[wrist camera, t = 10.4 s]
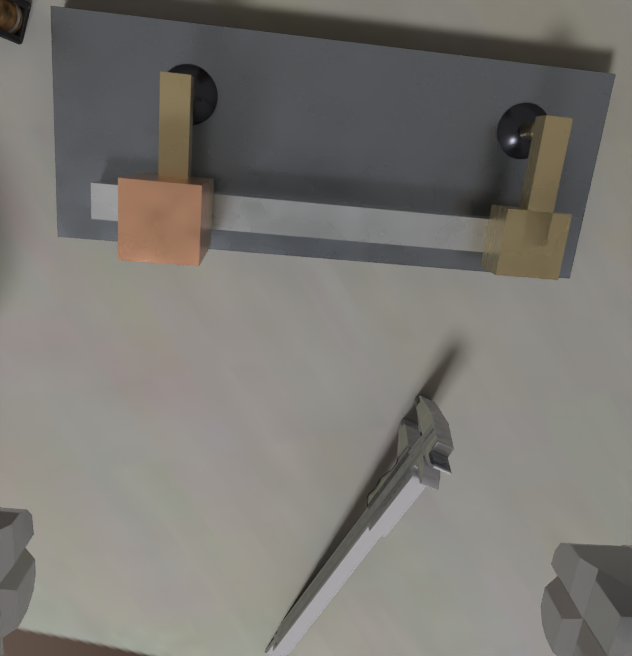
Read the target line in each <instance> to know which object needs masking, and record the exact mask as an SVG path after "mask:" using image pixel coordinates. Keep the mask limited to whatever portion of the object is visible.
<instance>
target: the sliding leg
mask: <svg viewBox="0 0 632 656" xmlns="http://www.w3.org/2000/svg"><path fill="white" fill-rule="evenodd" d="M194 99H195V90H194V77H193V76H192V75H188V74H179V73H170V72H161V71H160V105H159V161H158V173H149V172H144V173H139V174H134V175H129V176H124V177H119V178H118V260H128V261H141V262H153V263H166V264H179V265H191V266H199V265H200V263H201V262H202V260H203V258H204V256H205V255H206V253H207V251H208V250H209V248H210V246H211V235H212V213H213V190H214V179H213V178H202V177H192V176H191V158H192V128H193V100H194Z"/></svg>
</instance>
